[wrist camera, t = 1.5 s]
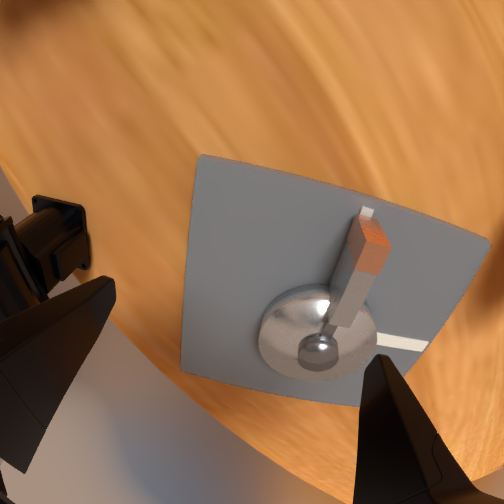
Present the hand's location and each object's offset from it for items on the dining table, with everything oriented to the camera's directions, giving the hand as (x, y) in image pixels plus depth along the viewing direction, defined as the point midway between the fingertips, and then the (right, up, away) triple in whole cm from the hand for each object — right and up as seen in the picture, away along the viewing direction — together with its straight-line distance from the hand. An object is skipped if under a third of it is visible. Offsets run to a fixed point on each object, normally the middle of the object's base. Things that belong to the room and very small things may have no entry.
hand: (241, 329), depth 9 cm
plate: (+6, -3, +15) cm, 16 cm away
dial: (+6, -1, +13) cm, 14 cm away
